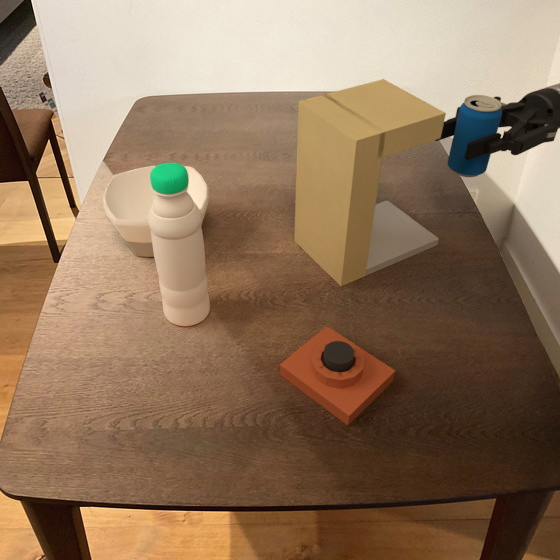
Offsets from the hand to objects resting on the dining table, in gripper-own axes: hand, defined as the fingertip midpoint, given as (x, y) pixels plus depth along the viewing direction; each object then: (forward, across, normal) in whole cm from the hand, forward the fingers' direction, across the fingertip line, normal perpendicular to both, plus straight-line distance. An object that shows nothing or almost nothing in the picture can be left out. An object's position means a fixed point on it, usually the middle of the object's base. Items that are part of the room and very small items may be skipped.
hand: (451, 141), depth 92 cm
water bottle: (+46, +4, -18) cm, 50 cm away
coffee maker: (+12, +4, -18) cm, 22 cm away
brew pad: (+34, -18, -18) cm, 42 cm away
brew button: (+34, -18, -15) cm, 41 cm away
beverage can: (-5, 0, -7) cm, 8 cm away
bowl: (+42, +24, -18) cm, 51 cm away
